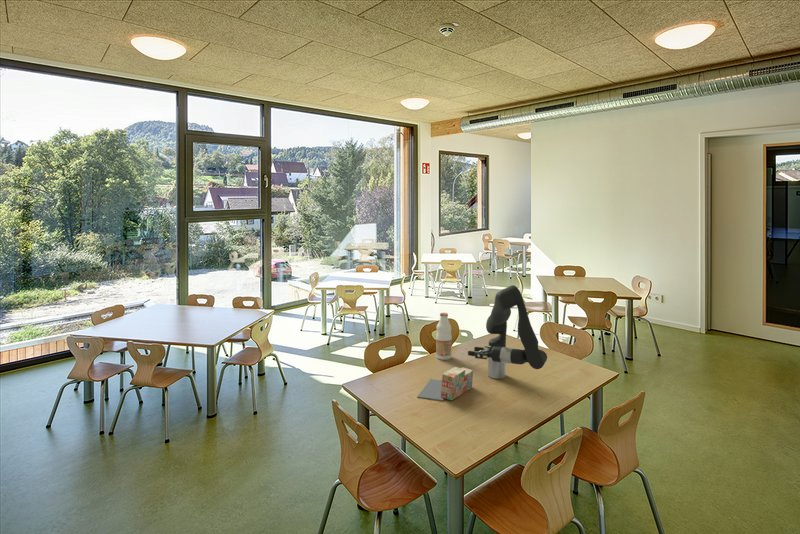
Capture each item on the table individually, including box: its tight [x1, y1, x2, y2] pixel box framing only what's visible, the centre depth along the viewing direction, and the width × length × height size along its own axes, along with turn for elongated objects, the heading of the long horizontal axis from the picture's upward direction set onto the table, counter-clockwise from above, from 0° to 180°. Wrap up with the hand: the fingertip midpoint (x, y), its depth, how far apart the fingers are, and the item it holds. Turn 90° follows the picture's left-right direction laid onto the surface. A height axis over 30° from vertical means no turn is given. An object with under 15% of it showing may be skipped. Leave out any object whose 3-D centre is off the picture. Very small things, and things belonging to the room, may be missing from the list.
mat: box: [417, 378, 446, 402], centre depth 236 cm, size 13×24×1 cm, turn 161°
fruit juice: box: [435, 312, 453, 361], centre depth 283 cm, size 9×9×28 cm
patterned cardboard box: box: [441, 366, 474, 401], centre depth 232 cm, size 21×6×12 cm, turn 144°
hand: (471, 350), depth 229 cm, fingers open, 8 cm apart
